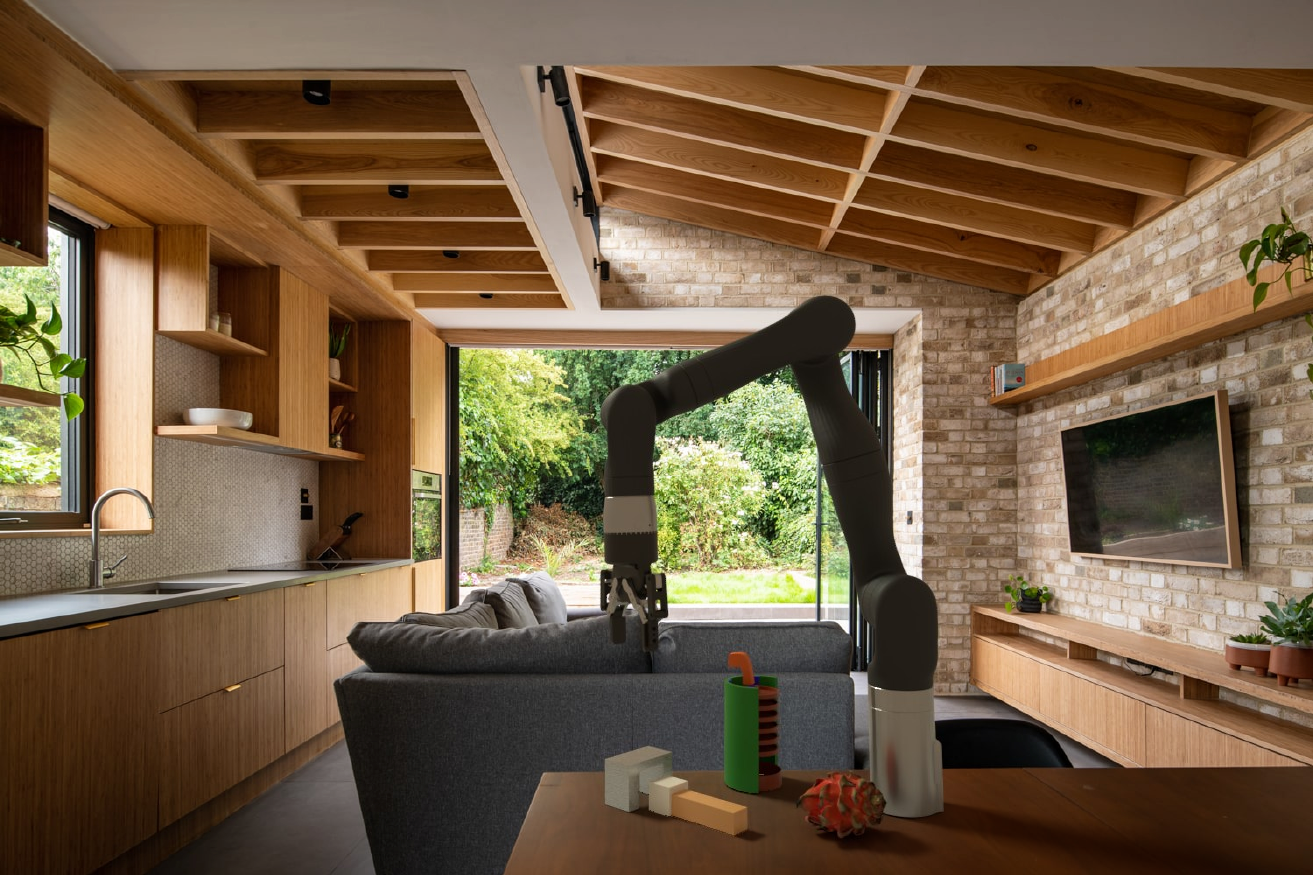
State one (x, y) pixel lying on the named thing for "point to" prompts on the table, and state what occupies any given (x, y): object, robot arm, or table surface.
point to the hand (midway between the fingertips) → (633, 647)
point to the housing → (634, 775)
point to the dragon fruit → (843, 804)
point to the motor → (751, 729)
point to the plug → (695, 805)
